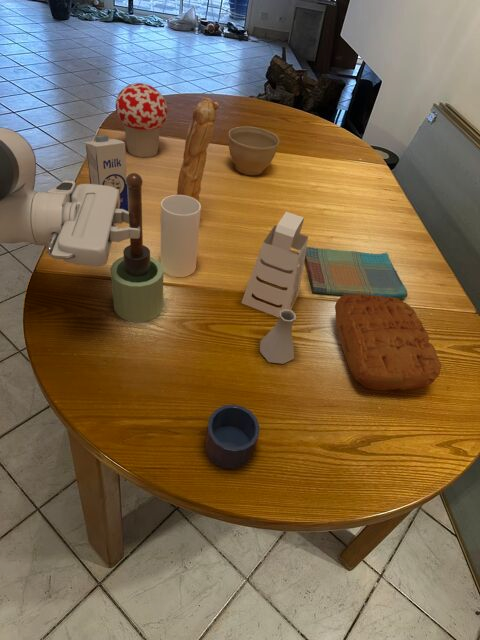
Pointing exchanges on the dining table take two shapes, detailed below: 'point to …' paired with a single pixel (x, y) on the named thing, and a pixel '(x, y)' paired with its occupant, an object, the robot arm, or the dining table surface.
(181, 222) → the cup
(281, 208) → the dining table surface
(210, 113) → the sculpture
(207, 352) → the dining table surface
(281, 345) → the flask
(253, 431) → the holder
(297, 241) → the grater
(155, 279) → the jar
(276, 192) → the dining table surface
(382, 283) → the dish towel
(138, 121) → the decorative object
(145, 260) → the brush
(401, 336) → the cuneiform tablet
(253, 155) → the planter bowl
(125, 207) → the milk carton
